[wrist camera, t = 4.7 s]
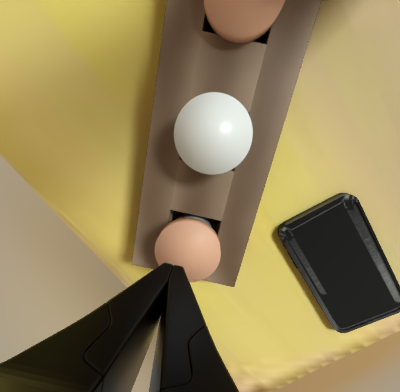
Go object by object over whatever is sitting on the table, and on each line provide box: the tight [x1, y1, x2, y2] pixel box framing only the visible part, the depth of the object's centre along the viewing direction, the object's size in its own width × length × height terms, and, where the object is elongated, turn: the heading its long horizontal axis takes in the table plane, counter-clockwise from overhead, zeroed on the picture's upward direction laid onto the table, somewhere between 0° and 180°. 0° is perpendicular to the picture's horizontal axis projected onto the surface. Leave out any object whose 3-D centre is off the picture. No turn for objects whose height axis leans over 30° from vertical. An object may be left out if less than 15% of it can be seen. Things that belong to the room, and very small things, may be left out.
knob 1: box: [155, 213, 221, 282], centre depth 17 cm, size 5×5×4 cm
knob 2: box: [204, 0, 285, 43], centre depth 14 cm, size 5×5×4 cm
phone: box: [278, 193, 400, 333], centre depth 21 cm, size 8×1×15 cm
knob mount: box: [132, 0, 321, 287], centre depth 17 cm, size 10×26×3 cm, turn 168°
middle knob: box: [174, 92, 253, 175], centre depth 15 cm, size 5×5×4 cm
